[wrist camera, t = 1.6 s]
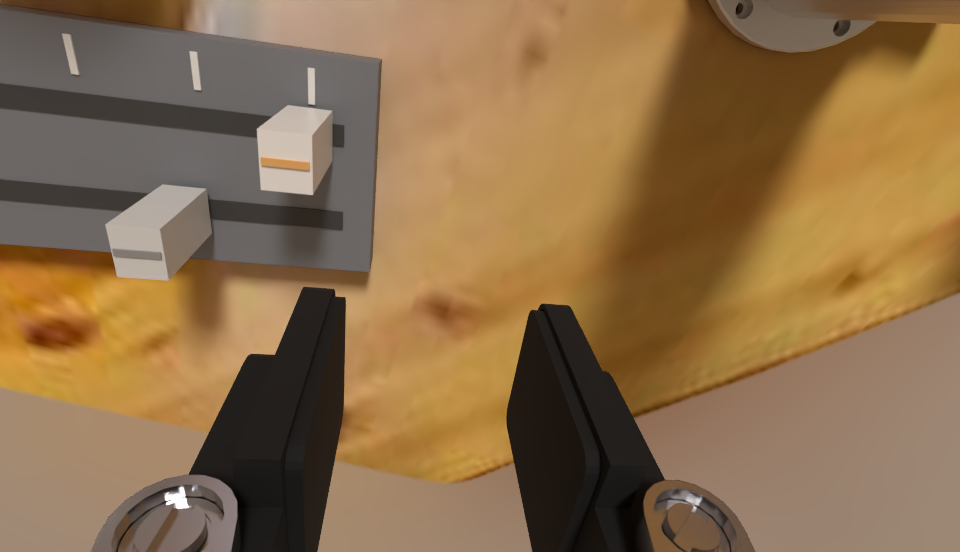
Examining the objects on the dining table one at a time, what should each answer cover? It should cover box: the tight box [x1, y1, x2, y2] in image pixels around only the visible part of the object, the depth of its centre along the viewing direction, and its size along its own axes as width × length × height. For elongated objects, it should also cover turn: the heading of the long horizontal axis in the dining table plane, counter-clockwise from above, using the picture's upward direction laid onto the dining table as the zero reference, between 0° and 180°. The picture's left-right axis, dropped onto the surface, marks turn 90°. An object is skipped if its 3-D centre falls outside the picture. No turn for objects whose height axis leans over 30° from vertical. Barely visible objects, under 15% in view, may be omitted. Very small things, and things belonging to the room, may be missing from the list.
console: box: [0, 4, 382, 272], centre depth 24 cm, size 26×11×2 cm, turn 82°
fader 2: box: [257, 105, 333, 195], centre depth 21 cm, size 2×2×5 cm
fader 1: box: [105, 184, 212, 281], centre depth 22 cm, size 2×2×5 cm
